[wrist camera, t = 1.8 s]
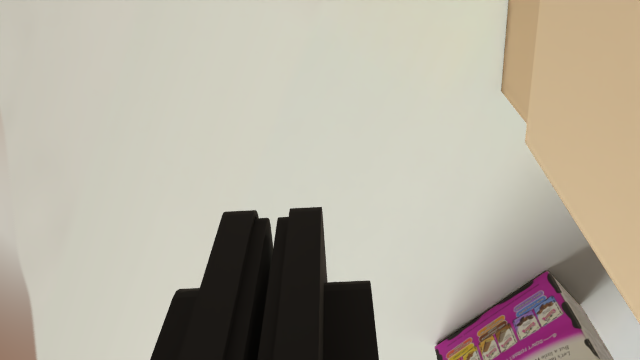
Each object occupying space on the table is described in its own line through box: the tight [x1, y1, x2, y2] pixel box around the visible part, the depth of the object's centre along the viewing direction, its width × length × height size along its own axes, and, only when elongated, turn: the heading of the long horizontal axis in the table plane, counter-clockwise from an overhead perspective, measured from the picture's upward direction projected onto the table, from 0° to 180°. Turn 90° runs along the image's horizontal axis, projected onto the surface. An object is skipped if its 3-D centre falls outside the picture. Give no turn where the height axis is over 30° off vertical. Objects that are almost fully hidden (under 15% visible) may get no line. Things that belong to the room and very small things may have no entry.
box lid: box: [525, 0, 640, 324], centre depth 20 cm, size 16×13×1 cm
